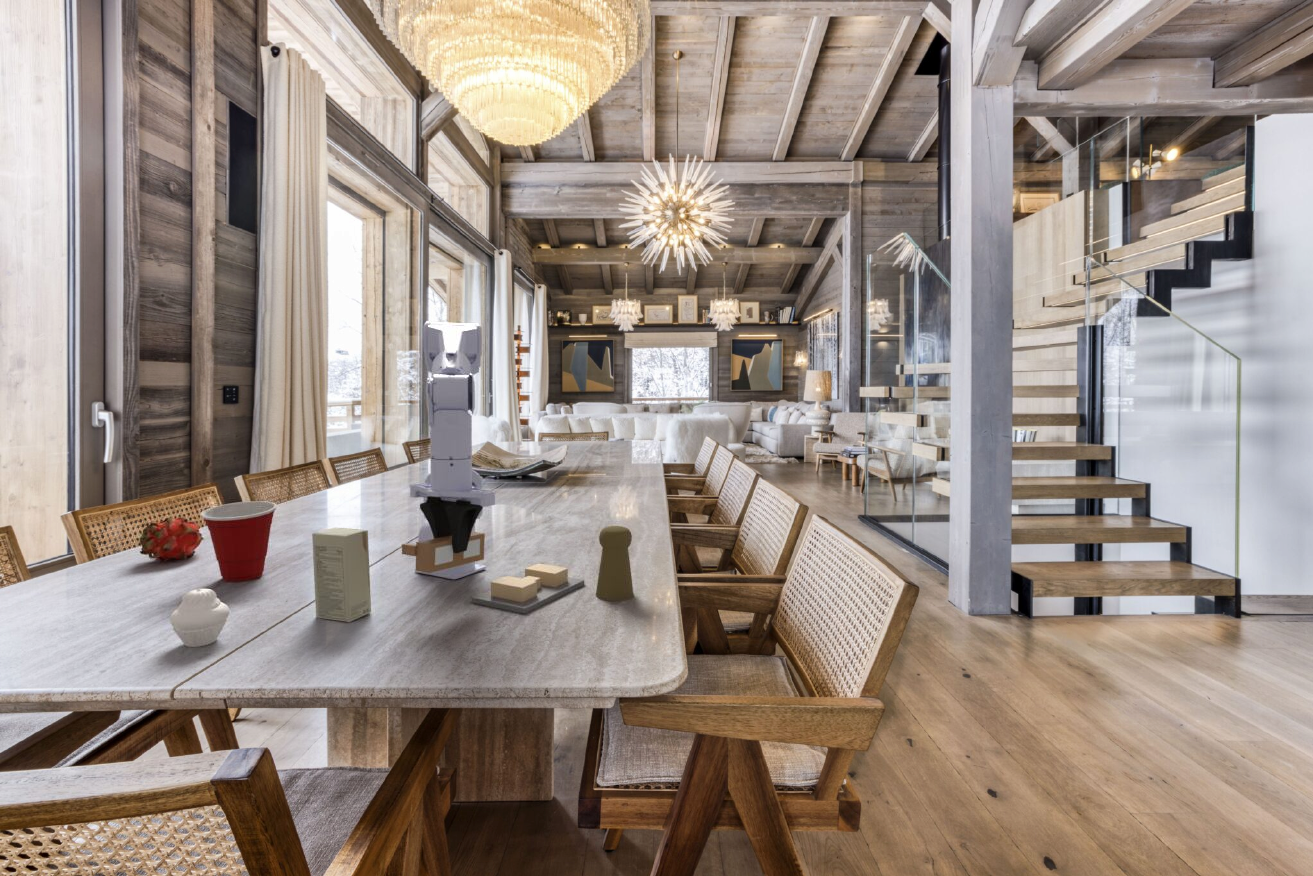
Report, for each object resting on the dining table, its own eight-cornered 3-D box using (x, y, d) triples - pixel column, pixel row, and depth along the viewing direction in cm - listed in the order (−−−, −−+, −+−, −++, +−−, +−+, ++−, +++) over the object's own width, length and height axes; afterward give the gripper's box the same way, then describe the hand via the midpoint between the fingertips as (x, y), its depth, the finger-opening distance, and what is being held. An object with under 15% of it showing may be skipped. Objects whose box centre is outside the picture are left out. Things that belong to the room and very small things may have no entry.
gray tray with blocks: (471, 602, 98) (471, 583, 98) (535, 576, 113) (535, 559, 113) (524, 613, 94) (524, 593, 94) (584, 584, 108) (584, 567, 108)
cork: (628, 602, 100) (629, 532, 99) (590, 599, 101) (591, 529, 100) (637, 590, 106) (638, 524, 105) (601, 587, 107) (602, 522, 106)
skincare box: (372, 613, 93) (371, 529, 92) (349, 623, 89) (347, 536, 88) (337, 607, 95) (335, 525, 94) (312, 617, 91) (310, 531, 90)
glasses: (401, 568, 91) (402, 540, 91) (461, 554, 102) (462, 529, 101) (427, 573, 89) (428, 544, 89) (485, 559, 99) (486, 533, 99)
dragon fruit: (137, 577, 113) (193, 568, 125) (175, 550, 112) (228, 544, 124) (115, 536, 114) (173, 531, 126) (152, 509, 113) (207, 507, 125)
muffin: (164, 655, 78) (161, 598, 77) (178, 636, 83) (176, 583, 83) (225, 647, 80) (223, 592, 80) (234, 630, 86) (233, 578, 85)
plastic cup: (185, 585, 104) (182, 511, 103) (237, 566, 115) (235, 499, 114) (247, 589, 103) (244, 514, 102) (293, 570, 114) (291, 502, 113)
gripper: (393, 456, 93) (394, 549, 94) (470, 464, 87) (470, 563, 88) (430, 452, 100) (430, 539, 101) (504, 459, 93) (504, 552, 94)
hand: (451, 550), depth 95 cm, fingers closed on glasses, 3 cm apart
